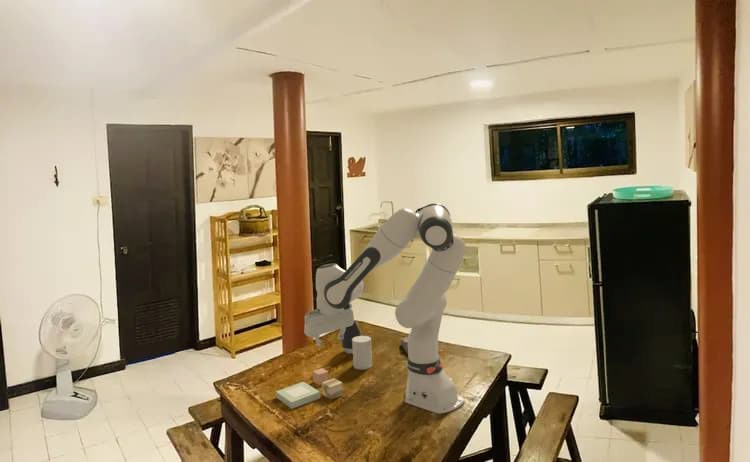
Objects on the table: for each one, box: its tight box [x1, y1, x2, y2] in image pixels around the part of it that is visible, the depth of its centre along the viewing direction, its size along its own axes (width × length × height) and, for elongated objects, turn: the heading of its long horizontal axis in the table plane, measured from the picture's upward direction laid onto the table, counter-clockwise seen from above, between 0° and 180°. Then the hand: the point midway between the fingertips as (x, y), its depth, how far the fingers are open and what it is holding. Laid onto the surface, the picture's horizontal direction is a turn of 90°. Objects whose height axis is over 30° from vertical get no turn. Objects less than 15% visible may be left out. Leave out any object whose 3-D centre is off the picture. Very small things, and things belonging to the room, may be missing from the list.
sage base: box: [275, 381, 321, 410], centre depth 182 cm, size 12×12×3 cm
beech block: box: [321, 377, 344, 400], centre depth 183 cm, size 6×6×5 cm
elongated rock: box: [400, 336, 408, 354], centre depth 219 cm, size 35×5×10 cm
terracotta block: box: [312, 367, 330, 386], centre depth 195 cm, size 4×4×4 cm
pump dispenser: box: [340, 321, 363, 355], centre depth 225 cm, size 10×10×15 cm
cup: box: [352, 335, 373, 370], centre depth 209 cm, size 8×8×12 cm
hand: (330, 342), depth 182 cm, fingers open, 8 cm apart
